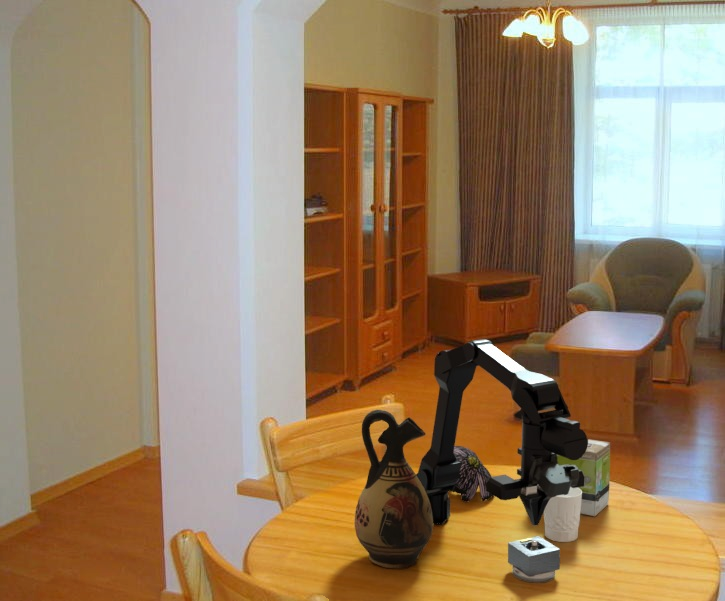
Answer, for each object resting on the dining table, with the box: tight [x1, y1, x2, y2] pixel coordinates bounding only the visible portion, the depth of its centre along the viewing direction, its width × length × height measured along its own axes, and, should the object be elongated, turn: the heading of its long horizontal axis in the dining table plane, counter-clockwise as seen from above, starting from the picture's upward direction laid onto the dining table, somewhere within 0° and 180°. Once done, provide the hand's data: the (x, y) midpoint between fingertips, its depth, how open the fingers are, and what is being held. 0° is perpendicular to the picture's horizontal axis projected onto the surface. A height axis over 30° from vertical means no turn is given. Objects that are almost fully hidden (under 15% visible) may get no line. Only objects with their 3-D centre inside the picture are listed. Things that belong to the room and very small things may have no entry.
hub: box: [511, 540, 556, 584], centre depth 186 cm, size 8×8×6 cm
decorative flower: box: [452, 445, 494, 503], centre depth 228 cm, size 14×12×15 cm
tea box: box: [557, 438, 611, 517], centre depth 221 cm, size 15×10×15 cm
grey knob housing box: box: [507, 535, 561, 577], centre depth 186 cm, size 7×7×4 cm
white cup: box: [543, 487, 582, 543], centre depth 203 cm, size 8×8×10 cm
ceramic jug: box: [346, 409, 434, 570], centre depth 191 cm, size 17×15×30 cm
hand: (534, 525), depth 185 cm, fingers closed
